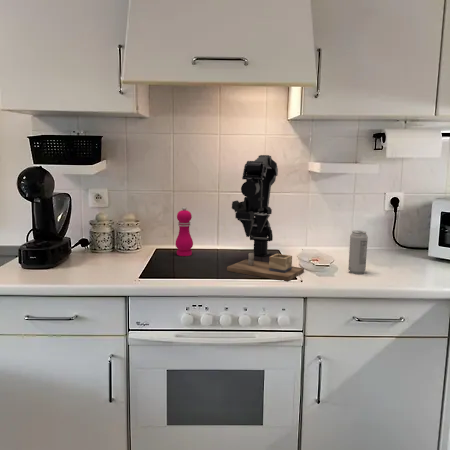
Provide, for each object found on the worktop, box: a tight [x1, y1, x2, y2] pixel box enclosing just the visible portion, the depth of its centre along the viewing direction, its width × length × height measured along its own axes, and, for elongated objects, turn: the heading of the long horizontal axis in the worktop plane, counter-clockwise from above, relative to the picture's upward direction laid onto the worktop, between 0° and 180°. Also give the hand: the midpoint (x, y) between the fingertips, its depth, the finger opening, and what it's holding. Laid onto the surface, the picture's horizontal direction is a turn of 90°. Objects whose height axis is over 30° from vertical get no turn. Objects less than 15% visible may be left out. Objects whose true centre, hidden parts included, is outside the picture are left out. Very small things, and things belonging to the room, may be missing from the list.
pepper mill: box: [175, 206, 194, 257], centre depth 201 cm, size 7×7×20 cm
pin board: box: [226, 252, 305, 282], centre depth 177 cm, size 14×24×6 cm, turn 58°
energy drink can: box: [348, 230, 368, 275], centre depth 177 cm, size 6×6×15 cm
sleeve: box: [268, 253, 293, 273], centre depth 174 cm, size 6×6×5 cm
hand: (253, 234), depth 188 cm, fingers open, 9 cm apart
